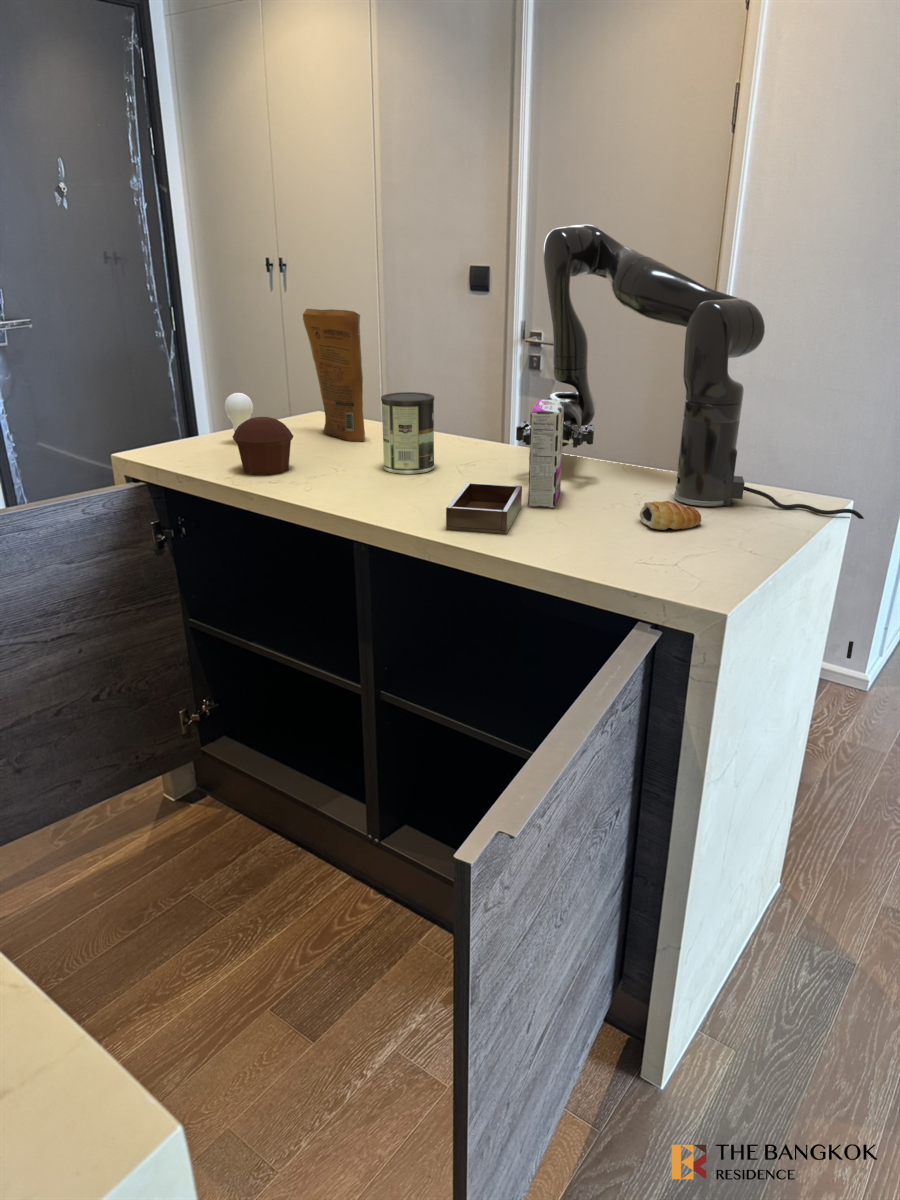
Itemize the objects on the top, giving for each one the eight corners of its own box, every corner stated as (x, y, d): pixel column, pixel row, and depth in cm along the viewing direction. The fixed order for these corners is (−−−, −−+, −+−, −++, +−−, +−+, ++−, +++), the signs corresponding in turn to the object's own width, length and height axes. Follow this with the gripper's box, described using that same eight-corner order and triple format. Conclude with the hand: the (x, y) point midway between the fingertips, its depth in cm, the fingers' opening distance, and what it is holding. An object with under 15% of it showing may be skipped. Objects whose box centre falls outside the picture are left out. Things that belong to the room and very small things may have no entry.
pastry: (689, 517, 142) (692, 494, 140) (708, 529, 136) (711, 506, 134) (635, 520, 140) (637, 497, 139) (652, 533, 134) (654, 509, 132)
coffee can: (424, 460, 178) (423, 390, 172) (442, 471, 169) (442, 398, 163) (376, 464, 174) (374, 393, 169) (392, 476, 165) (390, 402, 160)
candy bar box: (533, 489, 157) (537, 398, 150) (560, 491, 156) (565, 399, 149) (525, 507, 147) (529, 410, 140) (555, 509, 146) (560, 411, 139)
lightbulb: (261, 442, 193) (257, 392, 188) (242, 447, 188) (237, 396, 184) (242, 438, 196) (237, 389, 191) (222, 443, 191) (217, 393, 187)
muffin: (306, 465, 173) (303, 415, 169) (276, 479, 163) (272, 426, 159) (255, 460, 177) (251, 411, 173) (223, 473, 167) (218, 421, 163)
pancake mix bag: (352, 445, 190) (346, 312, 179) (306, 431, 203) (299, 306, 193) (377, 441, 194) (373, 310, 183) (331, 427, 207) (324, 305, 197)
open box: (521, 506, 147) (522, 485, 146) (506, 534, 133) (507, 511, 132) (466, 502, 149) (466, 482, 148) (445, 529, 135) (446, 507, 134)
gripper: (525, 402, 169) (512, 417, 154) (599, 405, 166) (592, 421, 151) (524, 440, 172) (511, 459, 157) (596, 444, 169) (589, 463, 154)
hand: (551, 440), depth 154 cm, fingers open, 8 cm apart
